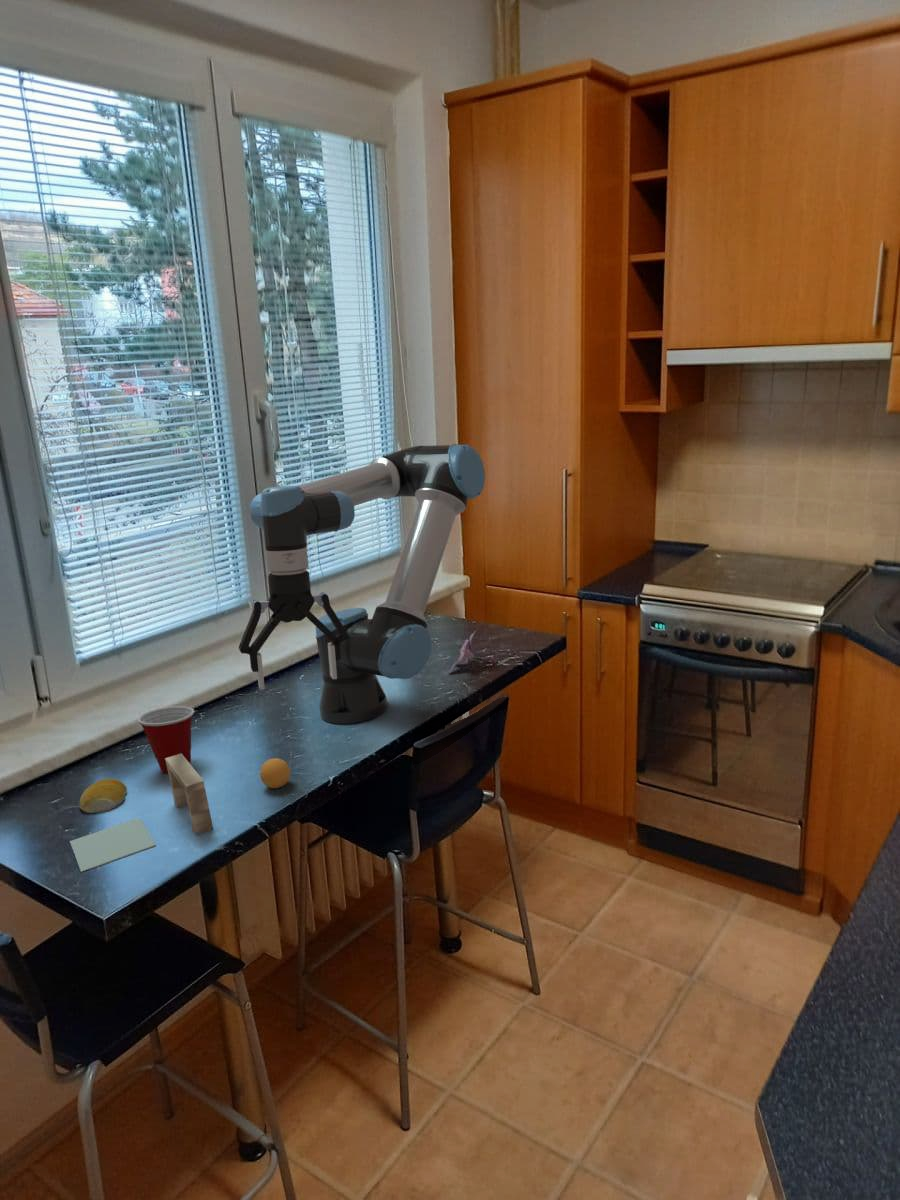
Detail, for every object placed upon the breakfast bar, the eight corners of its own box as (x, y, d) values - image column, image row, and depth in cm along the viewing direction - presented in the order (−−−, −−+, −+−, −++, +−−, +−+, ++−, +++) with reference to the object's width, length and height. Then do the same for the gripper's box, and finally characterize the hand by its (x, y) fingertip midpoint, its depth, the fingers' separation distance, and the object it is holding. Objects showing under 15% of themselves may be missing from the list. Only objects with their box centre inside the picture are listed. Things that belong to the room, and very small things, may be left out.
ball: (285, 776, 166) (281, 750, 164) (296, 786, 161) (292, 760, 159) (258, 786, 163) (253, 759, 161) (268, 796, 158) (263, 769, 157)
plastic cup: (215, 759, 176) (205, 705, 173) (175, 783, 168) (163, 727, 164) (178, 752, 182) (168, 699, 179) (137, 775, 173) (125, 720, 170)
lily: (473, 660, 221) (451, 632, 219) (506, 649, 213) (483, 619, 211) (452, 690, 213) (429, 660, 211) (485, 679, 205) (461, 648, 203)
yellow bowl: (129, 787, 169) (125, 769, 168) (123, 809, 160) (119, 789, 159) (85, 796, 167) (81, 777, 166) (76, 818, 159) (72, 798, 158)
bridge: (190, 798, 161) (181, 753, 159) (213, 828, 149) (203, 780, 146) (174, 803, 160) (165, 758, 157) (196, 835, 147) (186, 786, 145)
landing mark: (140, 818, 155) (140, 817, 155) (155, 845, 145) (155, 844, 145) (69, 842, 150) (69, 841, 150) (81, 872, 140) (80, 871, 140)
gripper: (220, 581, 150) (232, 697, 155) (359, 567, 158) (367, 678, 163) (216, 575, 157) (228, 686, 161) (350, 562, 165) (357, 668, 170)
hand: (298, 682), depth 162 cm, fingers open, 13 cm apart
